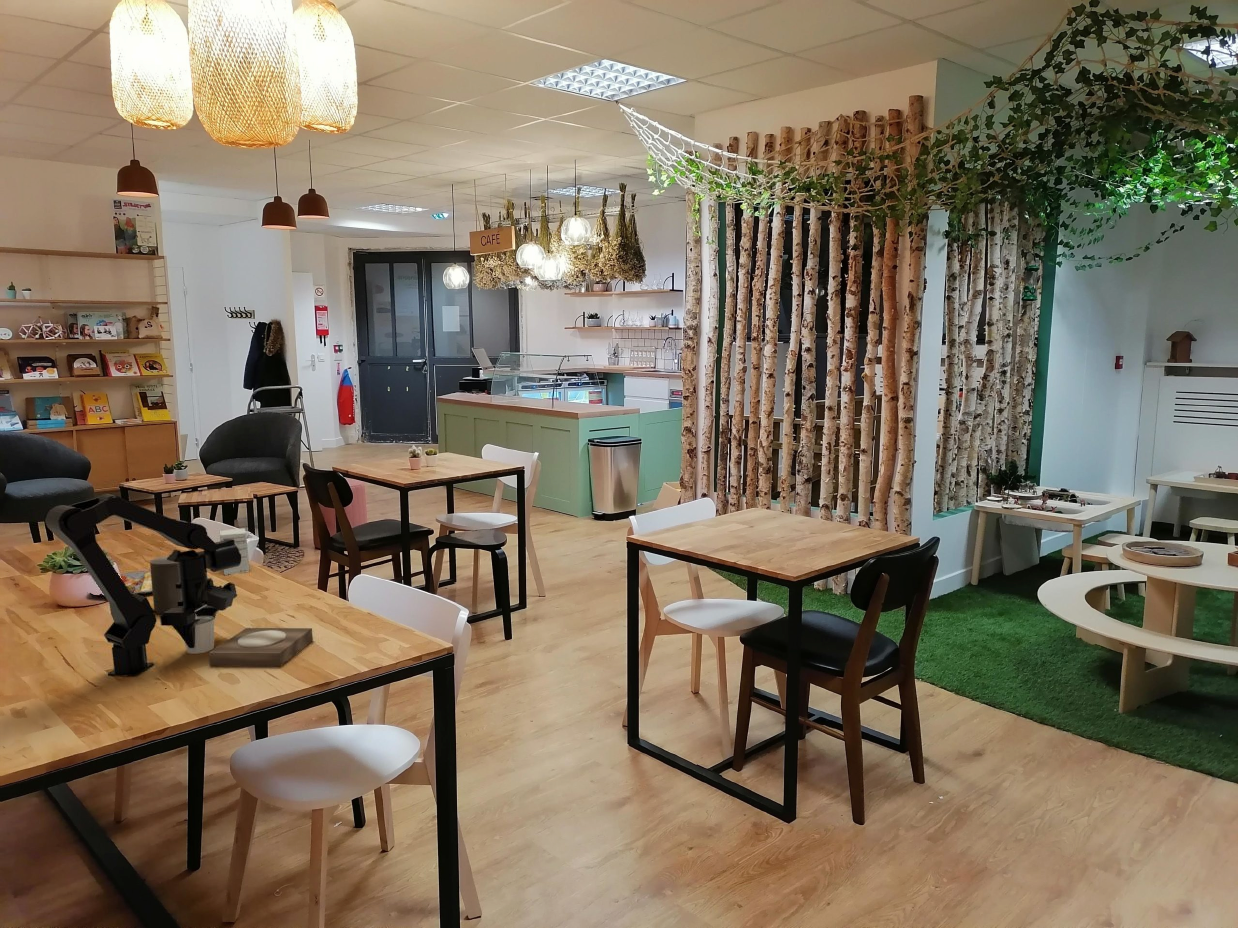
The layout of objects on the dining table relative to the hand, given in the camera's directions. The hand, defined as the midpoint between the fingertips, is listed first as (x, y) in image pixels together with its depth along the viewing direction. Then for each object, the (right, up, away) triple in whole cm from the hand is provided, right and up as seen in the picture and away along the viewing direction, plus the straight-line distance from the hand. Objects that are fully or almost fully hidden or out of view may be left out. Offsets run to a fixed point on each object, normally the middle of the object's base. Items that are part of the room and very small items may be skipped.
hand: (199, 642), depth 197 cm
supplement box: (-22, +8, +68) cm, 72 cm away
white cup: (0, -2, 0) cm, 2 cm away
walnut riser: (+16, -2, -3) cm, 16 cm away
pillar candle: (-22, +2, +31) cm, 38 cm away
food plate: (-44, +5, +53) cm, 69 cm away
